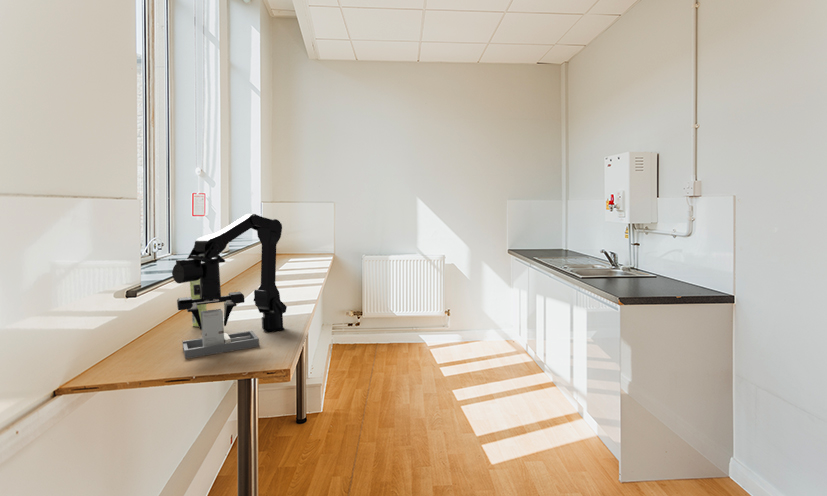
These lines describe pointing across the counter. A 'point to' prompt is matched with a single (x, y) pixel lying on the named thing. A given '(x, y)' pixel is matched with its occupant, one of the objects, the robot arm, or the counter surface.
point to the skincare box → (212, 327)
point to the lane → (219, 345)
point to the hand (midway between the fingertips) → (213, 327)
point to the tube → (200, 307)
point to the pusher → (227, 338)
